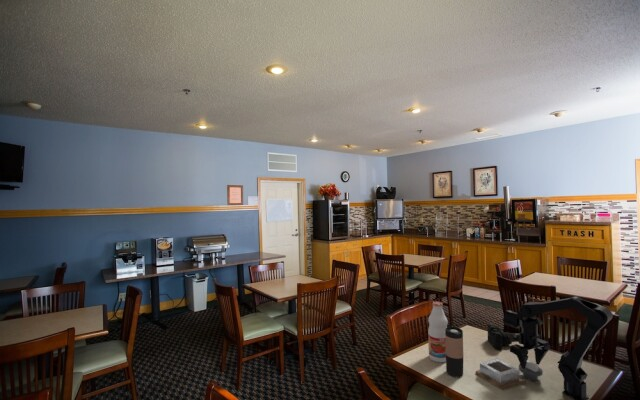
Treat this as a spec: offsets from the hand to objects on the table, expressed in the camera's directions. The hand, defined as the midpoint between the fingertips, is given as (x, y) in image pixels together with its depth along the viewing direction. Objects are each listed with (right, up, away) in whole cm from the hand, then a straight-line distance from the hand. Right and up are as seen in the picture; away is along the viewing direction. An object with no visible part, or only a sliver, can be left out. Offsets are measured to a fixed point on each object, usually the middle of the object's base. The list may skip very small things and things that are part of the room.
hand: (530, 366), depth 146 cm
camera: (+4, -5, +32) cm, 33 cm away
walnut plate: (-14, -5, 0) cm, 15 cm away
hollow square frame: (-14, -4, 0) cm, 14 cm away
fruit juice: (-34, -6, +19) cm, 39 cm away
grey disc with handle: (0, -5, 0) cm, 5 cm away
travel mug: (-32, -6, +5) cm, 33 cm away
